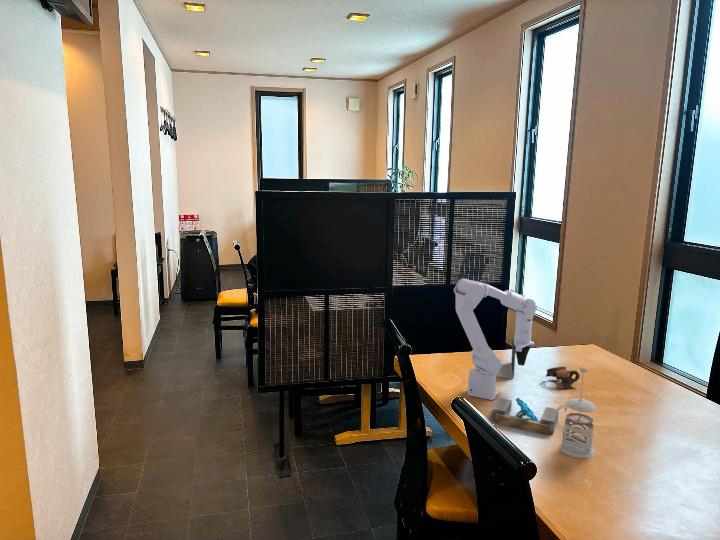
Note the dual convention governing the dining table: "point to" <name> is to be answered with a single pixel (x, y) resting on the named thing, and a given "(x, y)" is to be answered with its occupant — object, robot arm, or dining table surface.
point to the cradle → (503, 418)
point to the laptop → (508, 366)
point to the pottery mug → (563, 376)
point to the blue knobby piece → (525, 410)
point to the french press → (576, 443)
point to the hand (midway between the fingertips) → (521, 364)
